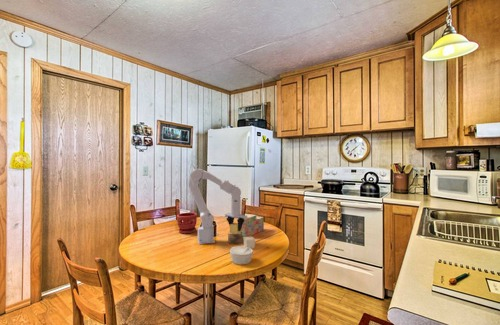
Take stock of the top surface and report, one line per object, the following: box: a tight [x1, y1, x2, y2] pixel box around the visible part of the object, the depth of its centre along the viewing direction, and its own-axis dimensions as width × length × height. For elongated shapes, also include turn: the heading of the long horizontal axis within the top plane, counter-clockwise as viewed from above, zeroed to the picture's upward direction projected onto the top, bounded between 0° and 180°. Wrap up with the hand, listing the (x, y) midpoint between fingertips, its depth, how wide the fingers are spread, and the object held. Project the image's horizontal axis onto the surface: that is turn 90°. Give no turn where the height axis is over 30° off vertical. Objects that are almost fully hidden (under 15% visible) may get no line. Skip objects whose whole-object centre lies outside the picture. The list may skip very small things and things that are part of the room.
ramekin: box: [229, 245, 254, 265], centre depth 120 cm, size 11×11×5 cm
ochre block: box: [229, 222, 241, 234], centre depth 148 cm, size 5×5×5 cm
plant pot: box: [176, 212, 198, 234], centre depth 166 cm, size 13×13×12 cm
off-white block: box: [243, 235, 256, 249], centre depth 139 cm, size 5×5×5 cm
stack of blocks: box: [237, 213, 265, 238], centre depth 165 cm, size 21×6×12 cm, turn 144°
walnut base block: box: [227, 233, 244, 245], centre depth 148 cm, size 8×8×4 cm
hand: (235, 229), depth 148 cm, fingers closed on ochre block, 5 cm apart
